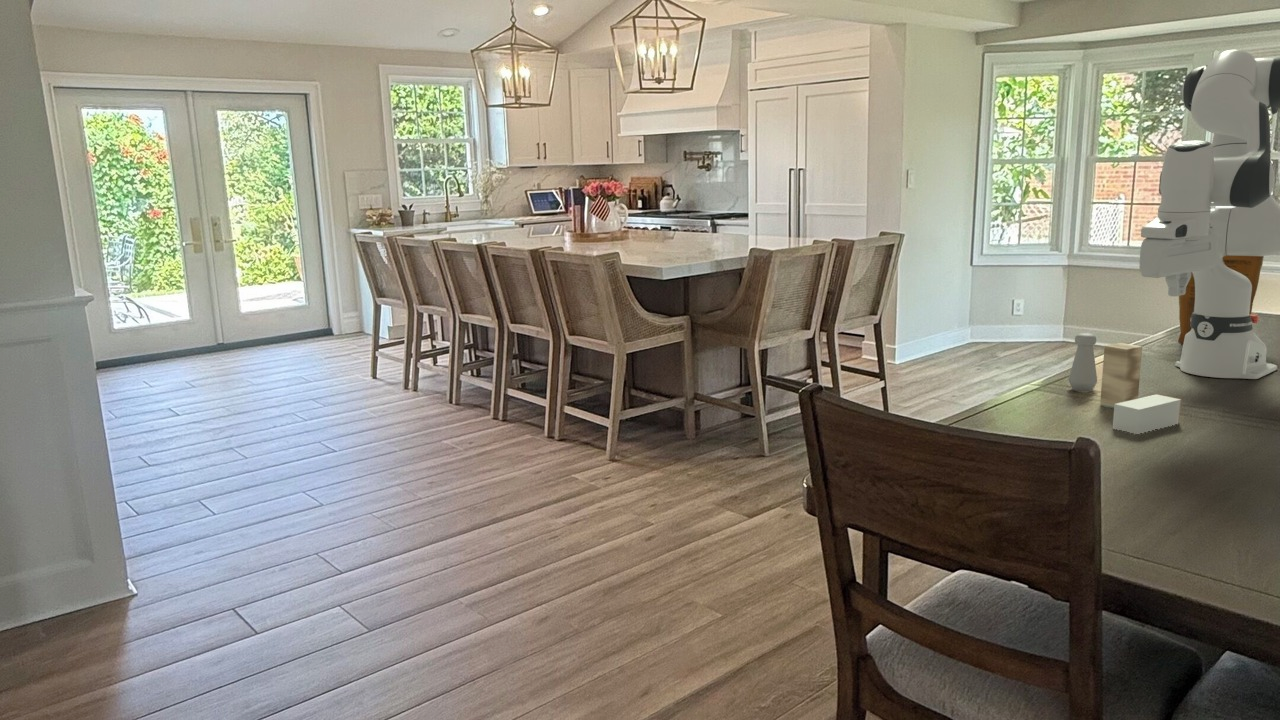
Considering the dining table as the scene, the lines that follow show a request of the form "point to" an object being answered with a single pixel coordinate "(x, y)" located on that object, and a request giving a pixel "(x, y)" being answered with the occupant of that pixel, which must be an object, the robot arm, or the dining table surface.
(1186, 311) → the pancake mix bag
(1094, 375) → the salt shaker
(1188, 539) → the dining table surface
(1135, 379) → the maple block
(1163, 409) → the white block
